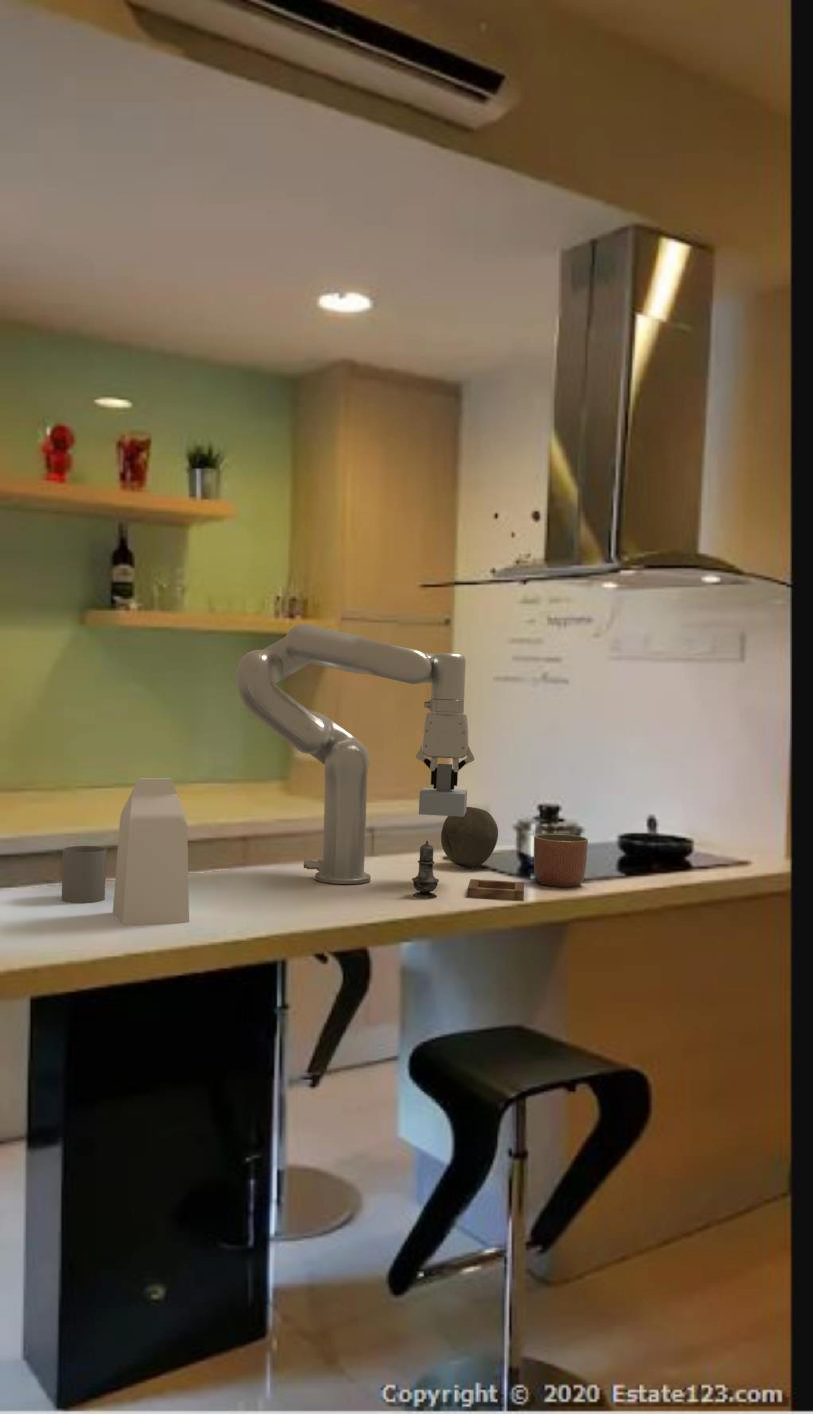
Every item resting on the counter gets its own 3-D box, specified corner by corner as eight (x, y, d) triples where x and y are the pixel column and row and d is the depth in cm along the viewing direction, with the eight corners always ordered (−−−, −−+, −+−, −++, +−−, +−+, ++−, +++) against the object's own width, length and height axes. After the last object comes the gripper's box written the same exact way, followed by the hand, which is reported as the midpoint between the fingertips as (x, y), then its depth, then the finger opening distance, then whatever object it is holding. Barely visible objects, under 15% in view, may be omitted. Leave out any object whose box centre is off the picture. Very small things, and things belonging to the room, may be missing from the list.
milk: (122, 925, 202) (127, 781, 201) (112, 912, 212) (117, 775, 211) (189, 922, 206) (194, 781, 206) (176, 909, 217) (180, 775, 216)
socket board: (467, 897, 240) (467, 887, 240) (470, 887, 251) (470, 879, 251) (523, 900, 239) (523, 891, 239) (523, 891, 250) (524, 882, 250)
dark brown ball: (498, 873, 272) (501, 811, 271) (440, 870, 272) (442, 809, 271) (494, 863, 286) (497, 805, 285) (439, 861, 286) (441, 802, 285)
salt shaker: (435, 899, 236) (438, 843, 236) (408, 897, 237) (410, 841, 237) (440, 894, 242) (443, 839, 242) (413, 892, 243) (416, 837, 243)
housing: (418, 814, 250) (420, 765, 249) (423, 809, 260) (425, 761, 259) (463, 816, 248) (465, 767, 248) (466, 811, 258) (468, 763, 258)
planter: (548, 890, 252) (550, 841, 252) (522, 880, 264) (524, 833, 264) (596, 888, 257) (598, 840, 257) (569, 878, 268) (570, 833, 268)
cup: (65, 904, 218) (67, 853, 217) (57, 896, 225) (59, 846, 225) (109, 901, 222) (111, 851, 221) (100, 893, 229) (101, 845, 229)
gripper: (409, 706, 251) (405, 788, 251) (482, 709, 249) (479, 792, 249) (412, 705, 258) (409, 785, 258) (484, 708, 256) (481, 789, 257)
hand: (443, 787), depth 254 cm, fingers closed on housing, 3 cm apart
